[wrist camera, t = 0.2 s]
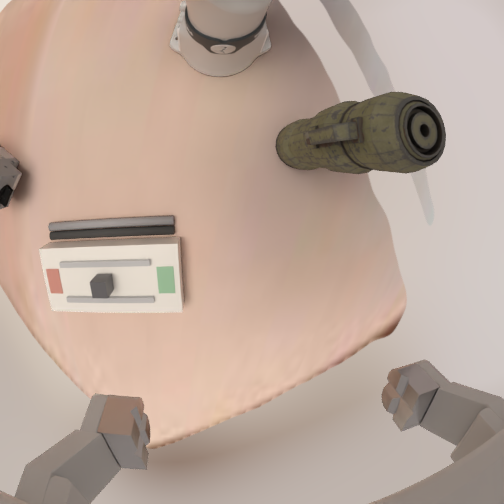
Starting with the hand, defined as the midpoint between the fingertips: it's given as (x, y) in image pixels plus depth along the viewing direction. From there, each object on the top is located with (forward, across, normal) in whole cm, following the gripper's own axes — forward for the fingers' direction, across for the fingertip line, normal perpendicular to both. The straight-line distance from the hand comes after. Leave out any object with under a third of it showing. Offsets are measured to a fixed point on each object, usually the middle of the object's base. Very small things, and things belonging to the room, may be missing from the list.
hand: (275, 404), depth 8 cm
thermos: (+48, -15, -11) cm, 51 cm away
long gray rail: (+47, +21, +4) cm, 52 cm away
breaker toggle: (+42, +21, +12) cm, 49 cm away
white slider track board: (+47, +21, +12) cm, 53 cm away
